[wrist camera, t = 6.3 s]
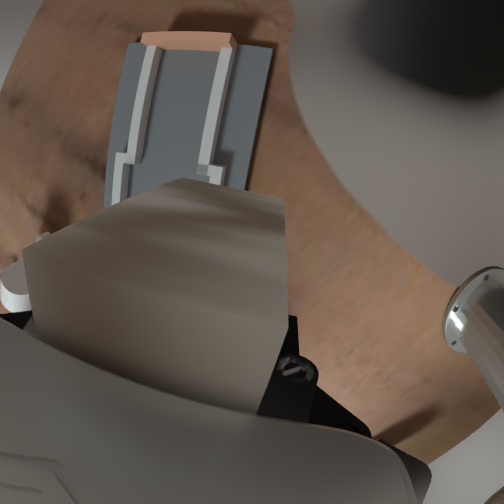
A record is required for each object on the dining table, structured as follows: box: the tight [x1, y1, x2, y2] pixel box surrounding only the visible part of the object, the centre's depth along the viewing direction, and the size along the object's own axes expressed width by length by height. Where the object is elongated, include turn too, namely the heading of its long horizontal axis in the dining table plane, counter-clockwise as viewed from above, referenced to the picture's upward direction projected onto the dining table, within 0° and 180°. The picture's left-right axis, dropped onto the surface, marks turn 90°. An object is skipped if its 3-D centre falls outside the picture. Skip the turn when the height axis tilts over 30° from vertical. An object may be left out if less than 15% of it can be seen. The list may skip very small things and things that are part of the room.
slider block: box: [22, 178, 288, 414], centre depth 9 cm, size 4×8×9 cm, turn 168°
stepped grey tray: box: [104, 31, 273, 209], centre depth 26 cm, size 15×26×4 cm, turn 169°
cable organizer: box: [0, 232, 51, 313], centre depth 30 cm, size 5×10×10 cm, turn 147°
